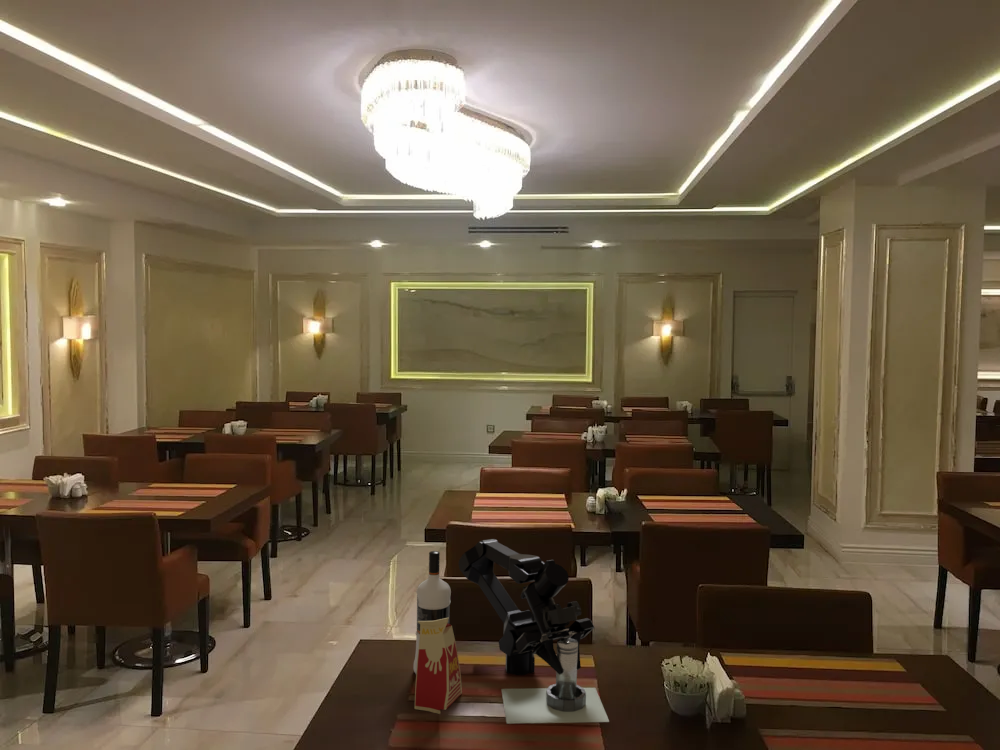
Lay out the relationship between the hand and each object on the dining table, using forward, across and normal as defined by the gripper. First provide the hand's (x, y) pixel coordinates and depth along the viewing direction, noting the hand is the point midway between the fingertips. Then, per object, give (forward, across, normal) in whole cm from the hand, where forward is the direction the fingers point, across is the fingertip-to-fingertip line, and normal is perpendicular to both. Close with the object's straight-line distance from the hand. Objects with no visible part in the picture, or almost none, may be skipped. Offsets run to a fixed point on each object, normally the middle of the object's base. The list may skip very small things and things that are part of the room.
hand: (570, 671), depth 179 cm
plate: (+5, -3, +8) cm, 10 cm away
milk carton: (-6, -24, +19) cm, 31 cm away
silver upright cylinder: (+3, 0, +5) cm, 6 cm away
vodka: (-16, -18, +29) cm, 38 cm away
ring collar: (+4, 0, +6) cm, 8 cm away
